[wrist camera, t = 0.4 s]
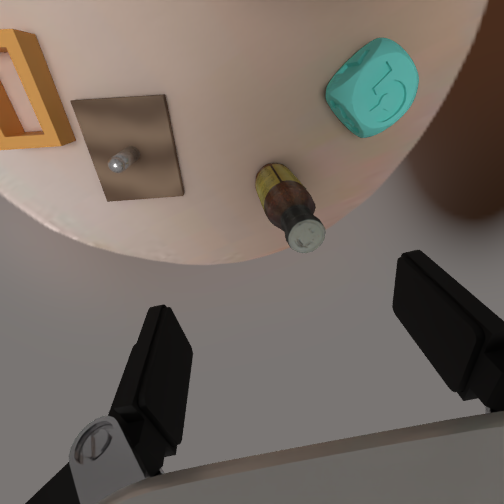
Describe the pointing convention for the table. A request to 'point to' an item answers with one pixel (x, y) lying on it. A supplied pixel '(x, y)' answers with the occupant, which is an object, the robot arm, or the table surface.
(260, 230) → the table surface
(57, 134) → the link
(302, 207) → the sauce bottle
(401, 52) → the decorative dice
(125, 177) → the plate
